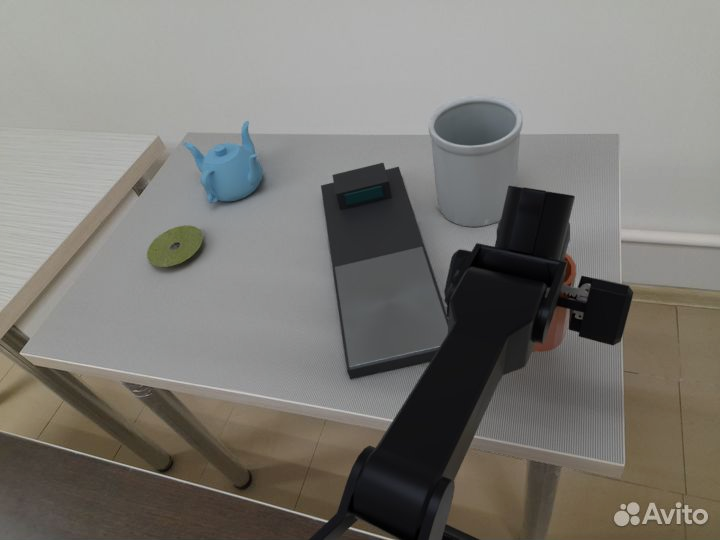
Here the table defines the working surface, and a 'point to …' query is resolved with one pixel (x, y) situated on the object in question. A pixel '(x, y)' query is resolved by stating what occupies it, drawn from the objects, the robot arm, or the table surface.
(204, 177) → the teapot
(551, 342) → the cup
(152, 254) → the mat
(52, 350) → the table surface
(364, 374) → the scale
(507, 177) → the utensil holder
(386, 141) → the table surface
